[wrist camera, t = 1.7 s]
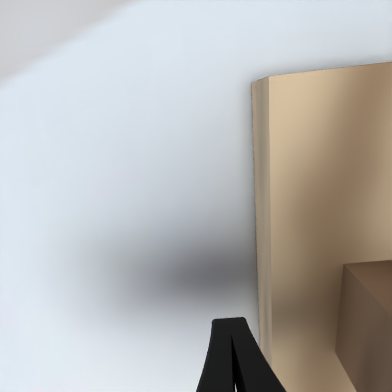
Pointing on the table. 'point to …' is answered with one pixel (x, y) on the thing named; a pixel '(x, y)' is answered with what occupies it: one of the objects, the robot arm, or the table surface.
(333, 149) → the board
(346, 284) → the walnut block
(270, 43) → the table surface
